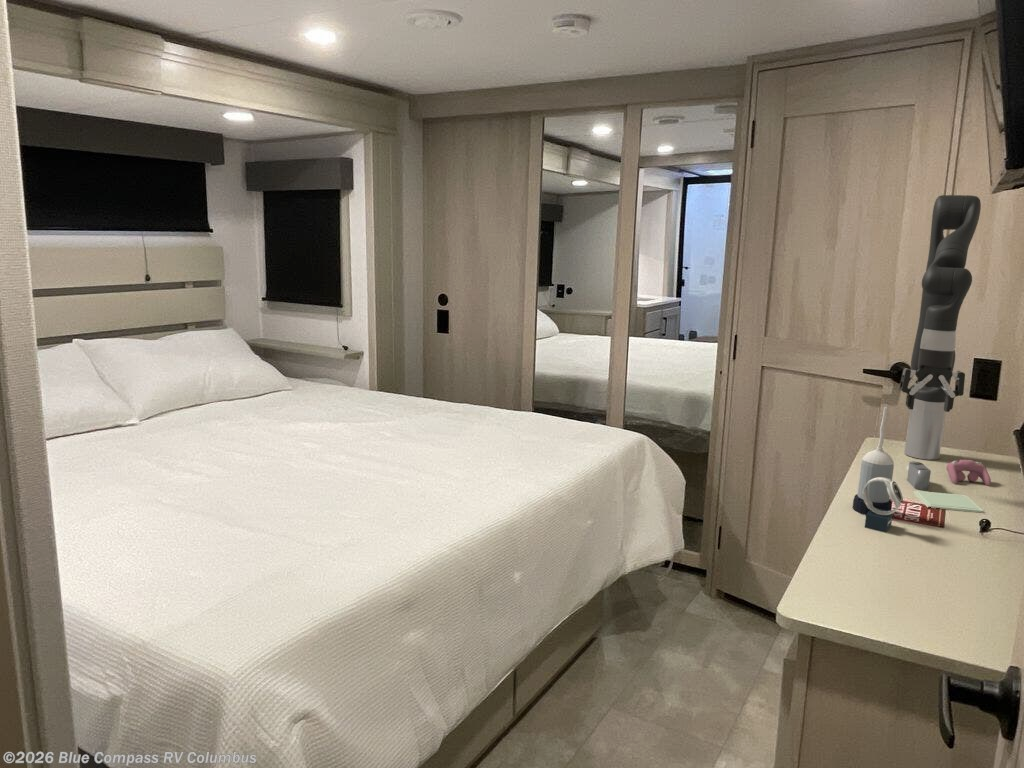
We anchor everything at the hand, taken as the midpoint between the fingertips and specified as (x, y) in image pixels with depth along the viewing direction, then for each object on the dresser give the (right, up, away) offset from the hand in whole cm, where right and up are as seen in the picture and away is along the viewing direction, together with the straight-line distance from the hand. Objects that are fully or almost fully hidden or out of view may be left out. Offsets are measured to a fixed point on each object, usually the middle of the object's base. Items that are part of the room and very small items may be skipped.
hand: (928, 410), depth 189 cm
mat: (0, -22, -9) cm, 24 cm away
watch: (-25, -25, -25) cm, 43 cm away
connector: (0, -20, +5) cm, 20 cm away
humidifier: (-22, -23, -16) cm, 36 cm away
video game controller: (+15, -20, +8) cm, 26 cm away
